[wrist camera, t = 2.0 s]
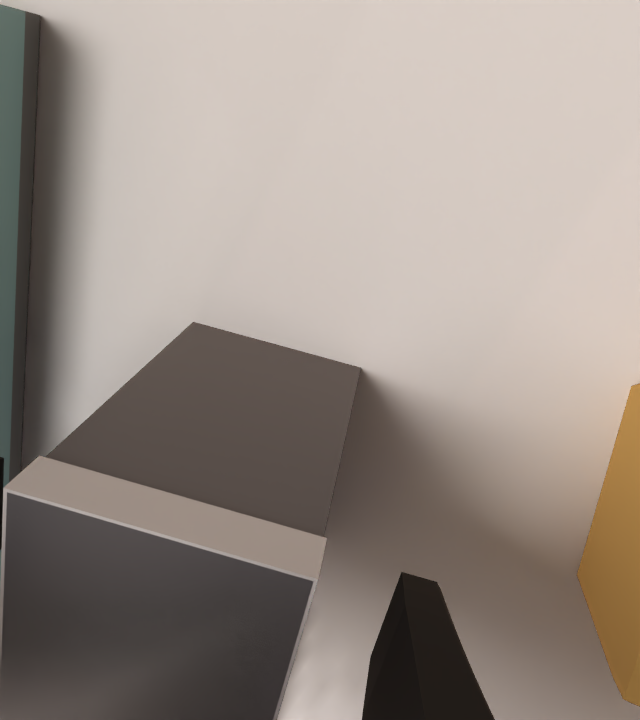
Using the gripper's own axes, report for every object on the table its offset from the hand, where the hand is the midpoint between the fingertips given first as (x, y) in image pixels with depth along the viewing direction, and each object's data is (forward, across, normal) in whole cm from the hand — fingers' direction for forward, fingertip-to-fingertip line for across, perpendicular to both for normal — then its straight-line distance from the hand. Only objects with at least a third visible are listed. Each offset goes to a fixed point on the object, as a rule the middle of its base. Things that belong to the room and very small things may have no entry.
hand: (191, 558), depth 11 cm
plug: (+5, 0, 0) cm, 5 cm away
